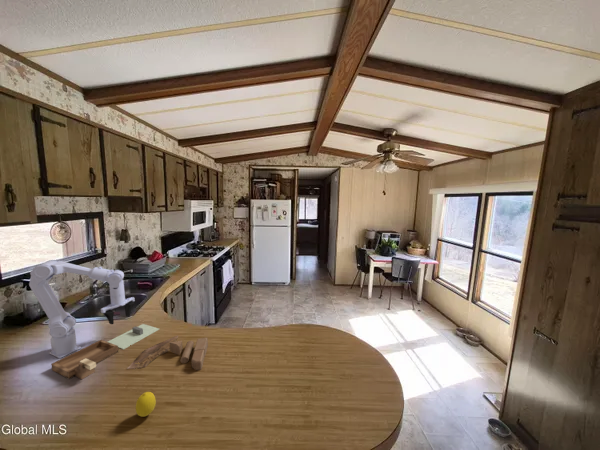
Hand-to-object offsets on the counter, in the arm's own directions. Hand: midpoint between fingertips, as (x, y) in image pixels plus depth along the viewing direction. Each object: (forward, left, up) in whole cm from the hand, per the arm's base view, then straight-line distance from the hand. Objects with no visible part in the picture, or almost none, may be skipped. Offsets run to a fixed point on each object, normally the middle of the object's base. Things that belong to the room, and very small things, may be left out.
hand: (120, 319), depth 117 cm
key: (+15, -21, -6) cm, 26 cm away
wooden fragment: (+26, 0, -11) cm, 28 cm away
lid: (+3, +4, -11) cm, 12 cm away
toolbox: (+6, -16, -10) cm, 20 cm away
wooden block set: (+43, +1, -11) cm, 45 cm away
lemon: (+54, -24, -11) cm, 60 cm away
